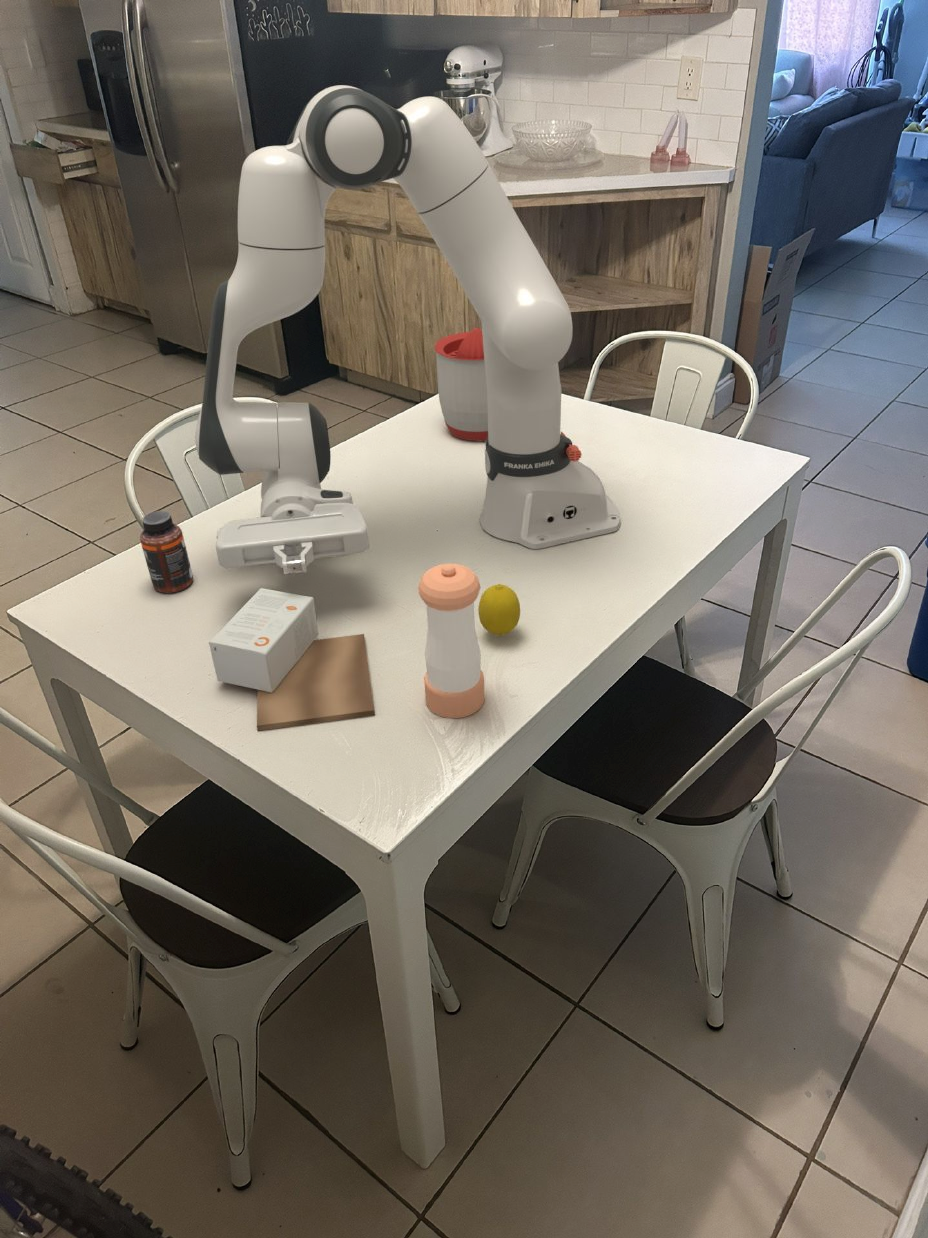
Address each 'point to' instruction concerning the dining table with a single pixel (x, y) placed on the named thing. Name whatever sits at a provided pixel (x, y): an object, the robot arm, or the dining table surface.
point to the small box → (264, 639)
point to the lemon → (499, 609)
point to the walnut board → (321, 686)
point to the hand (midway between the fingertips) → (294, 568)
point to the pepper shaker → (452, 641)
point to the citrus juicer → (463, 384)
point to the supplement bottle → (165, 553)
